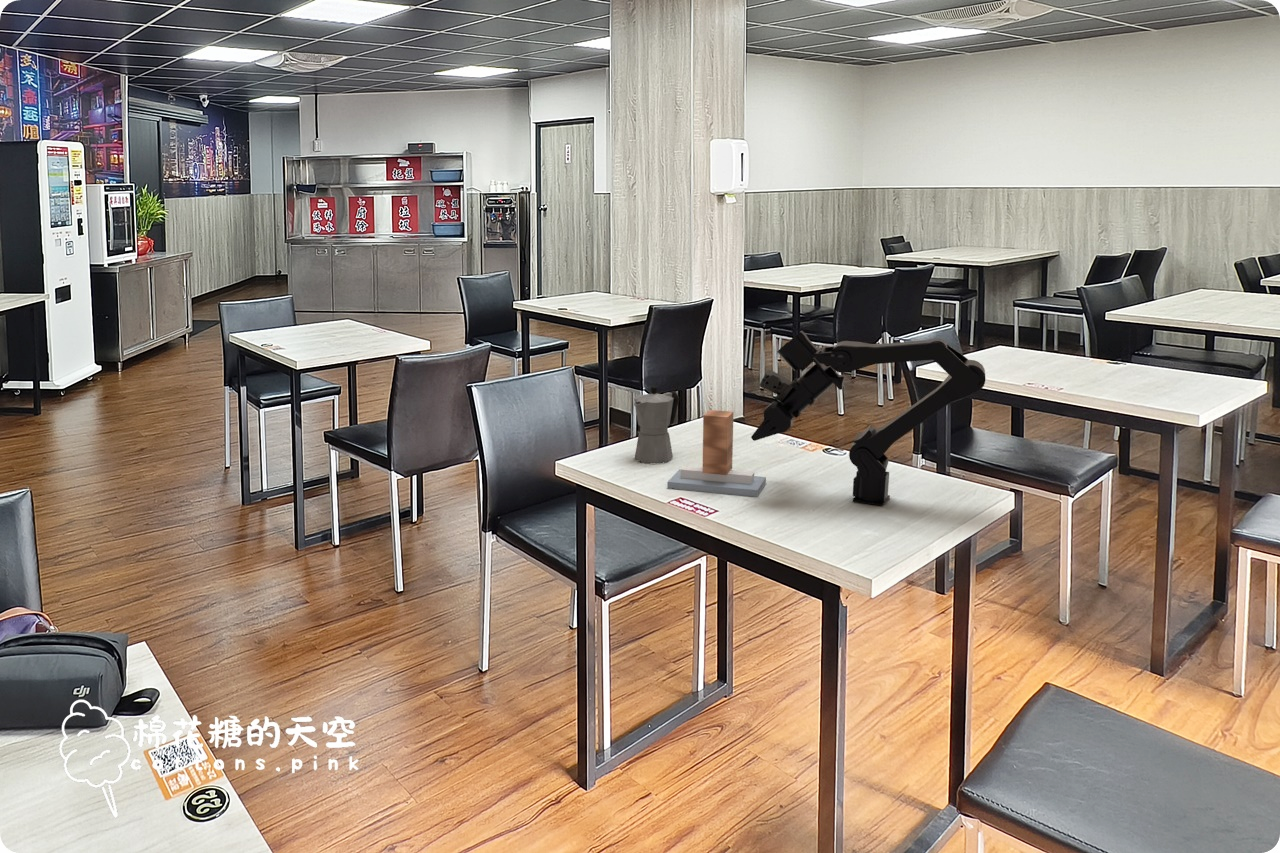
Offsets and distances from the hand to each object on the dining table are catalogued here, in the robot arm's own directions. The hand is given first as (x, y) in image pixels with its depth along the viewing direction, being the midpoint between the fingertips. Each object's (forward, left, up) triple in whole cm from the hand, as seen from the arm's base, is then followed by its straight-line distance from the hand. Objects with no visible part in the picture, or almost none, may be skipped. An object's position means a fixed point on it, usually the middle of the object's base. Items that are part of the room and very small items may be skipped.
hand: (756, 433), depth 218 cm
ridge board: (+8, +2, -13) cm, 15 cm away
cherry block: (+8, +2, -9) cm, 12 cm away
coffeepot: (+30, -12, -13) cm, 35 cm away
